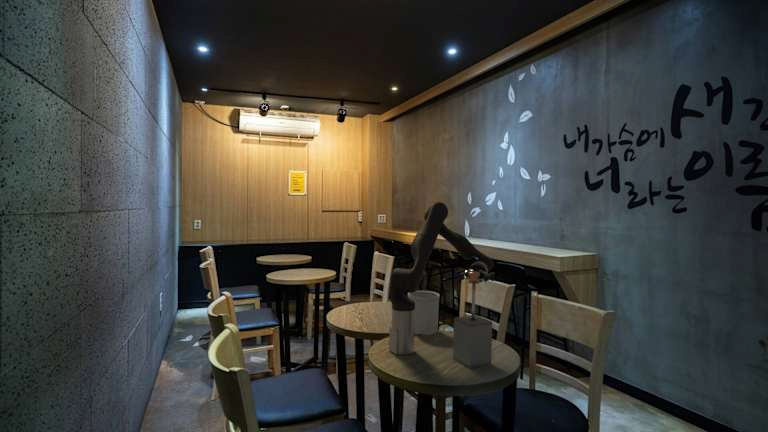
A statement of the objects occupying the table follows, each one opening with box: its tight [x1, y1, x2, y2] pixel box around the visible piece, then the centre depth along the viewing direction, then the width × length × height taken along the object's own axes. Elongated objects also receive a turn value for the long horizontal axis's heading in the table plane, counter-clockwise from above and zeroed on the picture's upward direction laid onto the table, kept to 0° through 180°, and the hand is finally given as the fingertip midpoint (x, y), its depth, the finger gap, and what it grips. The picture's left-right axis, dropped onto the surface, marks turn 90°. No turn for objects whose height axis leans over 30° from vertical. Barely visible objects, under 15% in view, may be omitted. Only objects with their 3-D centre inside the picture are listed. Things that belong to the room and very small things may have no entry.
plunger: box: [468, 271, 480, 321], centre depth 156 cm, size 8×8×23 cm
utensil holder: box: [407, 290, 441, 336], centre depth 193 cm, size 15×15×18 cm
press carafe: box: [452, 314, 493, 369], centre depth 156 cm, size 10×10×16 cm
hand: (473, 278), depth 154 cm, fingers open, 8 cm apart
